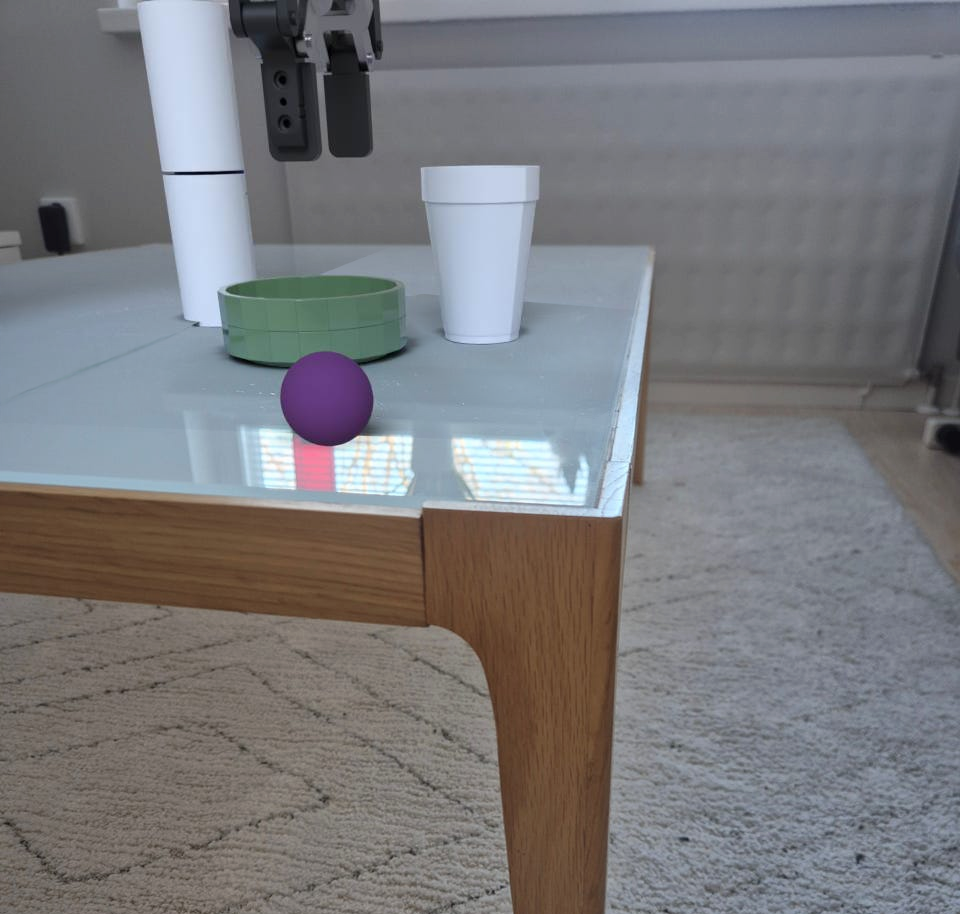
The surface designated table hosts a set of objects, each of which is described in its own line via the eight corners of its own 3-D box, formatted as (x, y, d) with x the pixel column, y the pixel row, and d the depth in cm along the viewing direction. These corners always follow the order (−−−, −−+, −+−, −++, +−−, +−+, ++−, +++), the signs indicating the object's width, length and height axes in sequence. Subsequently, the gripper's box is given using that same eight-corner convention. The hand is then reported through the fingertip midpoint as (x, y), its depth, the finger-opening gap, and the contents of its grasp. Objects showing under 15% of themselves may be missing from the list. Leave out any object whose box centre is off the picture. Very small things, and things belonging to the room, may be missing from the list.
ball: (271, 456, 50) (260, 360, 48) (302, 430, 55) (294, 342, 52) (362, 459, 49) (355, 362, 47) (386, 433, 54) (381, 343, 52)
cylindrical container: (170, 325, 87) (118, 2, 75) (207, 313, 93) (165, 12, 82) (240, 327, 86) (199, -2, 74) (274, 315, 92) (240, 8, 80)
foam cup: (465, 324, 86) (462, 165, 80) (555, 332, 82) (560, 165, 76) (405, 341, 79) (398, 168, 73) (501, 351, 75) (501, 168, 69)
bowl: (196, 369, 70) (186, 298, 68) (266, 334, 82) (259, 274, 80) (381, 373, 68) (376, 301, 66) (424, 337, 80) (421, 275, 78)
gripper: (266, -228, 44) (300, 158, 52) (114, -371, 32) (188, 163, 40) (421, -240, 43) (433, 156, 51) (326, -392, 31) (360, 162, 38)
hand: (326, 159), depth 45 cm, fingers open, 8 cm apart
